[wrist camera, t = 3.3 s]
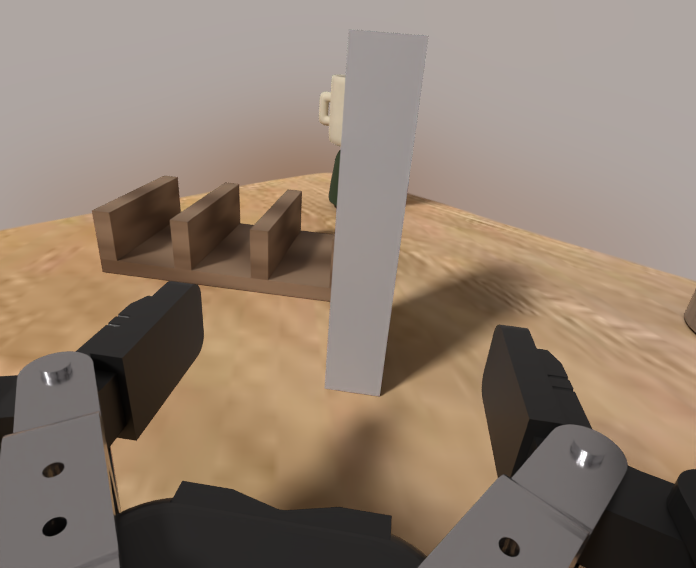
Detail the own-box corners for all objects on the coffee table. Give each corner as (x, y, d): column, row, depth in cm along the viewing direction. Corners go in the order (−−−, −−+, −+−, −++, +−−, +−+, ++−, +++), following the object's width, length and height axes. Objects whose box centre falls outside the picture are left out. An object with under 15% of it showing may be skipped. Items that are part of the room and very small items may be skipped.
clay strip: (341, 326, 29) (365, 35, 22) (386, 332, 29) (425, 40, 22) (324, 388, 24) (348, 29, 16) (379, 396, 23) (428, 35, 16)
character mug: (415, 210, 52) (434, 83, 46) (385, 227, 46) (402, 84, 40) (333, 190, 56) (340, 72, 51) (297, 203, 51) (300, 72, 45)
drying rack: (169, 225, 42) (164, 175, 40) (361, 248, 41) (366, 198, 38) (102, 271, 33) (92, 210, 31) (345, 303, 32) (351, 241, 30)
